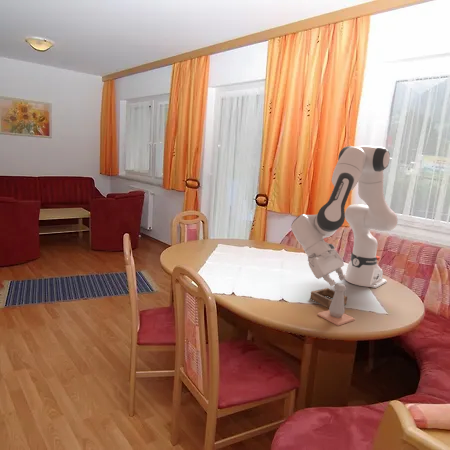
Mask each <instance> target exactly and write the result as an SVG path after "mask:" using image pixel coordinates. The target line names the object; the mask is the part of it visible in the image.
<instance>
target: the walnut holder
mask: <svg viewBox="0 0 450 450" xmlns="http://www.w3.org/2000/svg"><path fill="white" fill-rule="evenodd" d="M335 291H336V290H334V289H331V288H328V287H325V288H320V289H317V290H313V291H311V292H310V297H309V300H311V299H312V300H311V301H313V300H314V301H313V302H315V301H316V302H315V303H317V302H318V303H317V304H319V303H320V304H319V305H321V306H323V307H324V308H327V309H329V307H330V304H331V302H332V299H331V298H333V296H334V294H335ZM325 296H328V297H325ZM329 297H330V298H329ZM347 302H348V296H347V295H345V294H344V304H345V305H347Z"/></svg>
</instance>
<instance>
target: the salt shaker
mask: <svg viewBox="0 0 450 450" xmlns="http://www.w3.org/2000/svg"><path fill="white" fill-rule="evenodd" d="M335 283H336V282H335ZM333 286H334V287H333V288H334V289H333V290H334V291H335V294H334V296H333V299H332V302H331V304H330V307H329V308H328V310H329V311H330V315H331V316H333V317H335V318H340V317H342V315H343V314H344V313H345V311H346V310H345V305H344V295H345V292H346V290H347V287H346V285H345V284H343V283H340V282H338V283H336V284H335V285H333Z"/></svg>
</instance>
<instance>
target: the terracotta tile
mask: <svg viewBox="0 0 450 450" xmlns="http://www.w3.org/2000/svg"><path fill="white" fill-rule="evenodd" d="M317 316H319V317H321V318H322V319H324V320H326V321H328V322H330V323H332V324H334V325H335V326H338V327H339V326H342V325H344V324H345V325H346V324H348V323H351V322H354V321H355V320H356V319H355V317H353V316H351V315H348V314H346V313H345V312H344V314H343V315H342V317H340V318H335V317H333V316H331V315H330V311H329V309H328V310H323V311H319V312H317Z"/></svg>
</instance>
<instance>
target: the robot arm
mask: <svg viewBox="0 0 450 450" xmlns="http://www.w3.org/2000/svg"><path fill="white" fill-rule="evenodd" d="M390 157H391V154H390V151H389V150H388V149H387V148H386V147H383V146H374V145H373V146H372V145H357V146H356V145H354V146H353V145H349V146H345V147H343V148H342V149H341V150H339V153H338V157H337V158H338V159H337V160H338V161H337V163H336V165H335V167H334V170H333V172H332V175H331V176H332V177H331V184H332V186H333V189H332V192H331V194H330V197H329V199H328V201H327V202H326V203H325V204H323V206H322V207H320V209H319V210H318V212H317V213H316V214H305V213H302V214H300V215H298V216H297V217H296V218H295V219H294V220H293V221H292V223H291V226H290V228H291V232H292V233H293V235H294V237H295V239H296V240H297V242H298V243H299V244H300V245H301V246H302V249H303V252H304V253H305V254H306V256H307V262H308V266H309V268H310V270H311V272H312V273H313V275H314V277H315V278H316V279H317V280H319V279H321V278H323V281H326V282H327V283H328V285H329V286H330V287H333V286H335V284H336V281H335V280H334V279H332V278H331V276H330V274H331V273H333V272H336V273H337V275H338V279H339V280H340V281H343V280H345V281H346V282H348V283H350V284H353V285H355V286H360V287H368V288H373V289H377V288H378V287H380V286H382V285H384V284H386V283H387V279H386V278H383V274H384V271H383V269H382V268H381V267H380V266H379V264H378V262H380V260H381V256H378V255H377V251H378V247H379V243H378V239H377V238H376V237H375V236H373V235H372V233H371V230H374V231H377V232H391V231H393V230H394V229H395V228H396V227H397V224H398V215H397V214H396V212H395V211H394V210H393V209H392V208H391V207H390V206H389V204H388V203H387V200H386V198H385V194H384V171H385V169H387V168H388V166H389V164H390V159H391V158H390ZM357 185H358V187H357V188H358V192H357V193H358V196H359V198H360V200H362V201H363V202H364V203H365V204H361V203H360V204H359V203H355V204H350V205H348V206H347V208H346V209H345V207H346V204H347V201H348V198H349V196H350V193H351V191H353V190H354V188H356V186H357ZM345 221H346V222H347V223H348V225H349V226H350V228H351V230H352V233H353V245H352V246H353V248H352V253H350V254H351V255H350V260H349V262H348V264H347V267H346V268H347V269H346V271H345V273H344V272H343V269H342V267H344V266H345V264H344V261H343V259H342V257H341V255H340V254H339V253H338V251H337V250H335V249H336V247H335V245H334V244H332V243H328V242H326V241H325V240H324V239H326V238H329V237H331V236H333V235H334V234H335V233H336V232H337V230H339V229H340V228H341V227H342V226H343V224H344V223H345Z"/></svg>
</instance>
